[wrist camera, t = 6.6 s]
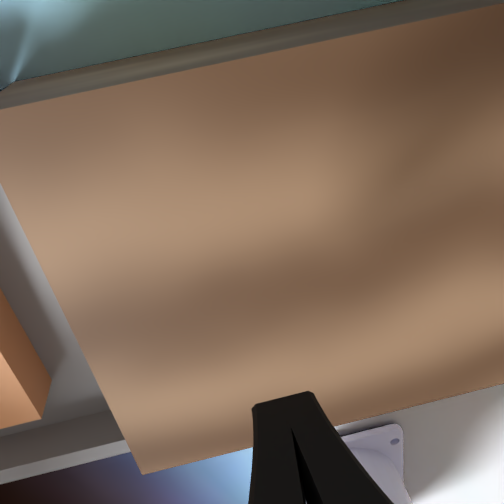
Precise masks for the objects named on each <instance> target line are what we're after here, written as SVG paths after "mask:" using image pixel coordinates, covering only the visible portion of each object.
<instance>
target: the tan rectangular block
mask: <svg viewBox="0 0 504 504" xmlns="http://www.w3.org/2000/svg"><path fill="white" fill-rule="evenodd" d="M51 382H52V379H51V377H50V376H49V374H48V372H47V370H46V368H45V367H44V365H43V363H42V361H41V360H40V358H39V356H38V354H37V352H36V351H35V349H34V347H33V345H32V344H31V342H30V340H29V338H28V336H27V335H26V333H25V331H24V329H23V328H22V326H21V324H20V322H19V320H18V319H17V317H16V315H15V313H14V311H13V310H12V308H11V306H10V304H9V303H8V301H7V299H6V297H5V295H4V294H3V292H2V290H1V288H0V429H3V428H7V427H11V426H15V425H19V424H23V423H27V422H31V421H35V420H39V419H42V415H43V412H44V408H45V404H46V401H47V397H48V393H49V389H50V386H51Z"/></svg>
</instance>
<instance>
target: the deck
mask: <svg viewBox="0 0 504 504" xmlns="http://www.w3.org/2000/svg"><path fill="white" fill-rule="evenodd" d="M0 184H1V186H2V188H3V190H4V192H5V194H6V196H7V198H8V200H9V202H10V204H11V206H12V208H13V210H14V212H15V214H16V217H17V219H18V221H19V223H20V225H21V227H22V229H23V231H24V233H25V235H26V237H27V239H28V241H29V243H30V245H31V247H32V249H33V251H34V254H35V256H36V258H37V260H38V262H39V264H40V266H41V268H42V270H43V272H44V274H45V276H46V278H47V280H48V282H49V284H50V286H51V288H52V290H53V293H54V295H55V297H56V299H57V301H58V303H59V305H60V307H61V309H62V311H63V313H64V315H65V317H66V319H67V321H68V323H69V325H70V327H71V330H72V332H73V334H74V336H75V338H76V340H77V342H78V344H79V346H80V348H81V350H82V352H83V354H84V356H85V358H86V360H87V362H88V364H89V366H90V369H91V371H92V373H93V375H94V377H95V379H96V381H97V383H98V385H99V387H100V389H101V391H102V393H103V395H104V397H105V399H106V401H107V403H108V406H109V408H110V410H111V412H112V414H113V416H114V418H115V420H116V422H117V424H118V426H119V428H120V430H121V432H122V434H123V436H124V438H125V440H126V443H127V445H128V447H129V449H130V451H131V453H132V455H133V457H134V459H135V461H136V463H137V465H138V467H139V469H140V471H141V473H142V475H144V474H148V473H152V472H156V471H160V470H164V469H168V468H172V467H176V466H180V465H184V464H188V463H192V462H196V461H200V460H204V459H207V458H211V457H215V456H219V455H223V454H227V453H231V452H235V451H239V450H243V449H247V448H251V447H253V418H252V407H253V406H254V405H255V404H257V403H261V402H265V401H269V400H273V399H277V398H281V397H285V396H289V395H293V394H297V393H301V392H305V391H310V392H312V393H314V395H315V397H316V399H317V401H318V402H319V404H320V406H321V408H322V409H323V411H324V413H325V414H326V416H327V417H328V419H329V421H330V422H331V424H332V425H333V427H334V426H338V425H342V424H346V423H350V422H354V421H358V420H362V419H366V418H370V417H374V416H378V415H382V414H386V413H390V412H393V411H397V410H401V409H405V408H409V407H413V406H417V405H421V404H425V403H429V402H433V401H437V400H441V399H445V398H449V397H453V396H457V395H461V394H465V393H469V392H473V391H477V390H481V389H484V388H488V387H492V386H496V385H500V384H504V0H403V1H398V2H393V3H388V4H384V5H379V6H374V7H369V8H364V9H360V10H355V11H350V12H345V13H341V14H336V15H331V16H326V17H321V18H317V19H312V20H307V21H302V22H297V23H293V24H288V25H283V26H278V27H274V28H269V29H264V30H259V31H254V32H250V33H245V34H240V35H235V36H231V37H226V38H221V39H216V40H211V41H207V42H202V43H197V44H192V45H188V46H183V47H178V48H173V49H168V50H164V51H159V52H154V53H149V54H144V55H140V56H135V57H130V58H125V59H121V60H116V61H111V62H106V63H101V64H97V65H92V66H87V67H82V68H78V69H73V70H68V71H63V72H58V73H54V74H49V75H44V76H39V77H35V78H30V79H25V80H20V81H15V82H13V83H11V84H10V85H9V86H7V87H6V88H5V89H3V90H2V91H1V92H0Z"/></svg>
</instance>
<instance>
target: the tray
mask: <svg viewBox="0 0 504 504" xmlns="http://www.w3.org/2000/svg"><path fill="white" fill-rule="evenodd" d="M0 288H1V290H2V292H3V294H4V295H5V297H6V299H7V301H8V303H9V304H10V306H11V308H12V310H13V311H14V313H15V315H16V317H17V319H18V320H19V322H20V324H21V326H22V328H23V329H24V331H25V333H26V335H27V336H28V338H29V340H30V342H31V344H32V345H33V347H34V349H35V351H36V352H37V354H38V356H39V358H40V360H41V361H42V363H43V365H44V367H45V368H46V370H47V372H48V374H49V376H50V377H51V379H52V382H51V386H50V389H49V393H48V397H47V401H46V404H45V408H44V412H43V415H42V419H39V420H35V421H31V422H27V423H23V424H19V425H15V426H11V427H7V428H3V429H0V484H4V483H8V482H12V481H16V480H20V479H24V478H28V477H32V476H36V475H40V474H44V473H48V472H52V471H56V470H60V469H64V468H68V467H72V466H76V465H80V464H84V463H88V462H92V461H96V460H100V459H104V458H108V457H112V456H116V455H120V454H124V453H128V452H131V451H130V449H129V447H128V445H127V443H126V440H125V438H124V436H123V434H122V432H121V430H120V428H119V426H118V424H117V422H116V420H115V418H114V416H113V414H112V412H111V410H110V408H109V406H108V403H107V401H106V399H105V397H104V395H103V393H102V391H101V389H100V387H99V385H98V383H97V381H96V379H95V377H94V375H93V373H92V371H91V369H90V366H89V364H88V362H87V360H86V358H85V356H84V354H83V352H82V350H81V348H80V346H79V344H78V342H77V340H76V338H75V336H74V334H73V332H72V330H71V327H70V325H69V323H68V321H67V319H66V317H65V315H64V313H63V311H62V309H61V307H60V305H59V303H58V301H57V299H56V297H55V295H54V293H53V290H52V288H51V286H50V284H49V282H48V280H47V278H46V276H45V274H44V272H43V270H42V268H41V266H40V264H39V262H38V260H37V258H36V256H35V254H34V251H33V249H32V247H31V245H30V243H29V241H28V239H27V237H26V235H25V233H24V231H23V229H22V227H21V225H20V223H19V221H18V219H17V217H16V214H15V212H14V210H13V208H12V206H11V204H10V202H9V200H8V198H7V196H6V194H5V192H4V190H3V188H2V186H1V184H0Z"/></svg>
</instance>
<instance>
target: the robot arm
mask: <svg viewBox="0 0 504 504" xmlns="http://www.w3.org/2000/svg"><path fill="white" fill-rule="evenodd" d="M252 418H253V459H252V473H251V483H250V493H249V502H248V504H413V503H412V501H411V499H410V496H409V494H408V492H407V490H406V488H405V486H404V477H403V430H402V428H401V426H400V425H398V424H390V425H386V426H382V427H378V428H374V429H370V430H366V431H362V432H358V433H354V434H350V435H346V436H342V437H340V435H339V434H338V432H337V431H336V430H335V428H334V427H333V425H332V424H331V422H330V421H329V419H328V417H327V416H326V414H325V413H324V411H323V409H322V408H321V406H320V404H319V402H318V401H317V399H316V397H315V395H314V393H312V392H310V391H305V392H301V393H297V394H293V395H289V396H285V397H281V398H277V399H273V400H269V401H265V402H261V403H257V404H255V405H254V406H253V407H252Z"/></svg>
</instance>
